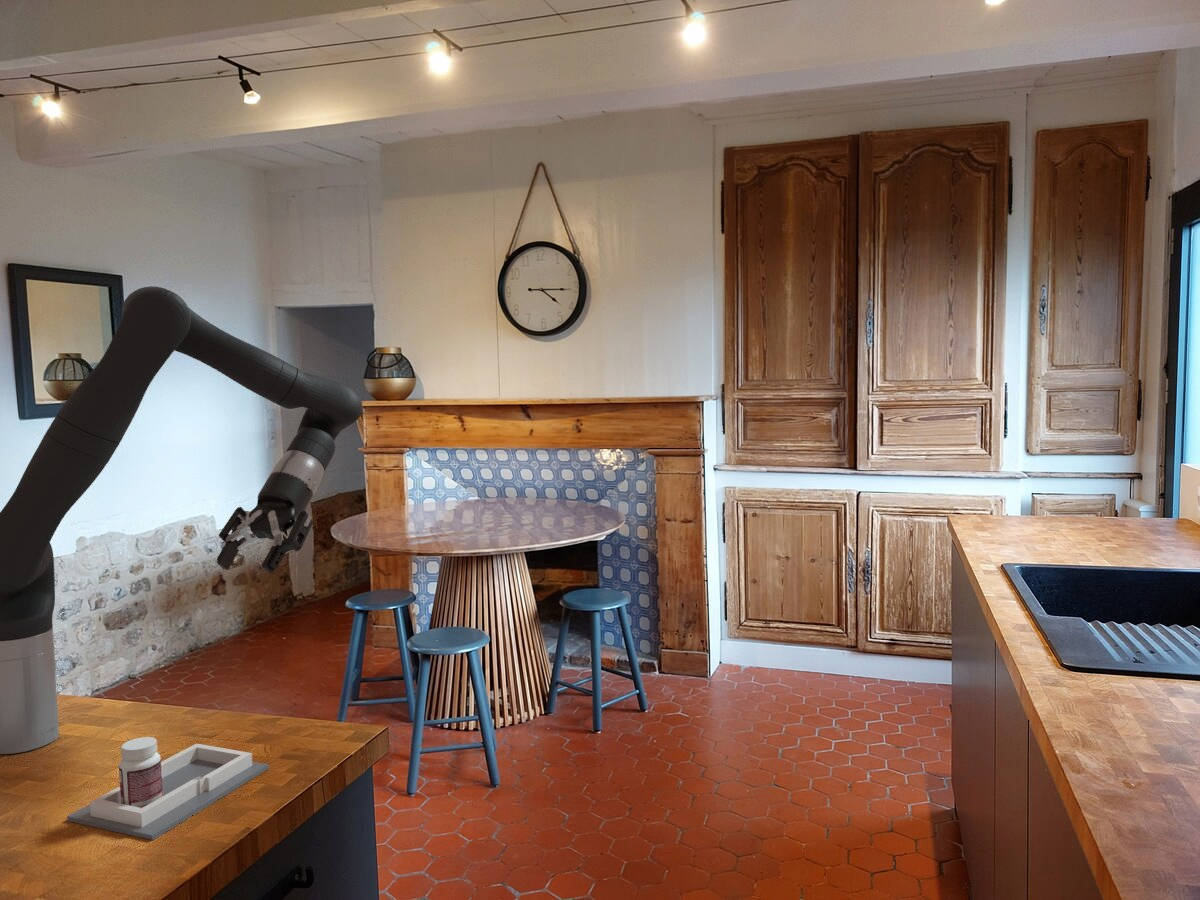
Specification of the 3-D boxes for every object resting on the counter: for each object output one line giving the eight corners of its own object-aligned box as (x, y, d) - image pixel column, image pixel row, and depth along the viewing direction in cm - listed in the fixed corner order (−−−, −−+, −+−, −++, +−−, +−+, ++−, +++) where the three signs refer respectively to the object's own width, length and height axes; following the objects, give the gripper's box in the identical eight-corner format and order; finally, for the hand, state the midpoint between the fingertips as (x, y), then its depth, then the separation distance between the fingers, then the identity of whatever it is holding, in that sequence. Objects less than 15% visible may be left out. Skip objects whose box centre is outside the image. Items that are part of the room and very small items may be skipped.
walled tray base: (67, 820, 107) (66, 802, 107) (192, 754, 126) (191, 738, 126) (152, 840, 102) (151, 821, 102) (268, 768, 121) (268, 752, 121)
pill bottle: (171, 799, 111) (168, 737, 110) (143, 817, 107) (139, 753, 106) (141, 795, 112) (138, 733, 112) (112, 812, 108) (108, 748, 107)
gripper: (244, 469, 139) (193, 551, 129) (317, 471, 134) (269, 557, 124) (268, 496, 144) (220, 578, 135) (339, 500, 140) (294, 585, 130)
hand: (244, 568), depth 129 cm, fingers open, 8 cm apart
